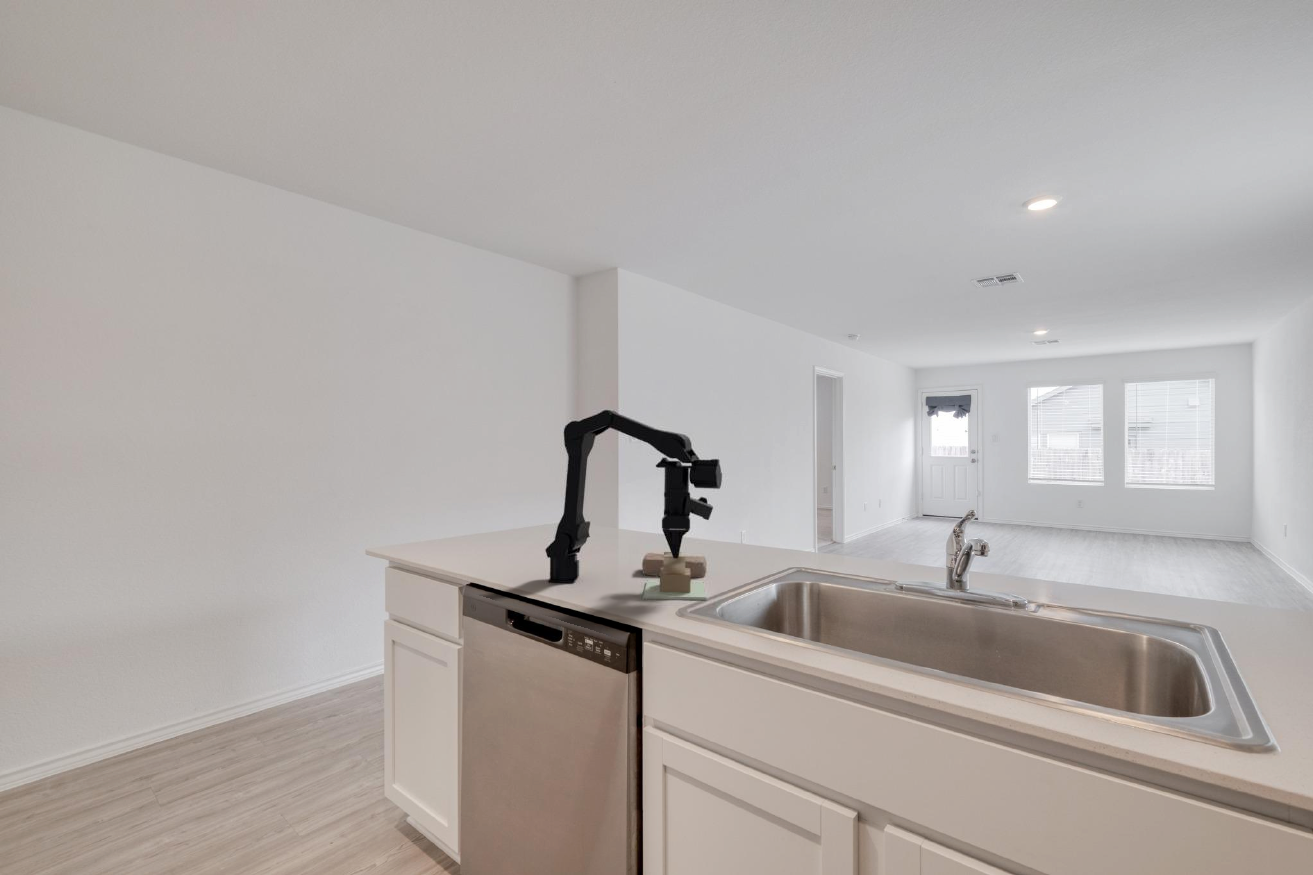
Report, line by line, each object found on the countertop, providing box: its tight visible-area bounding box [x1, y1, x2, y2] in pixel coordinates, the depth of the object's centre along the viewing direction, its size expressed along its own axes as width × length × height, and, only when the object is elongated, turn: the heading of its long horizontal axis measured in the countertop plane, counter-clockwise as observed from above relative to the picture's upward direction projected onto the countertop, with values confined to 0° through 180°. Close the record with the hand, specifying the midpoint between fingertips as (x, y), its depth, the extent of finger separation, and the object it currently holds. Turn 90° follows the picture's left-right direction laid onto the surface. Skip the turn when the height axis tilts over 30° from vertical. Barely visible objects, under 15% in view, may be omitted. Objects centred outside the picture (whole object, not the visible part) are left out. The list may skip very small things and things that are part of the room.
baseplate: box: [642, 568, 707, 601], centre depth 135 cm, size 14×14×5 cm
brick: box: [641, 552, 707, 578], centre depth 154 cm, size 17×8×5 cm, turn 83°
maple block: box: [663, 551, 686, 574], centre depth 135 cm, size 5×5×4 cm
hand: (675, 554), depth 135 cm, fingers open, 9 cm apart
